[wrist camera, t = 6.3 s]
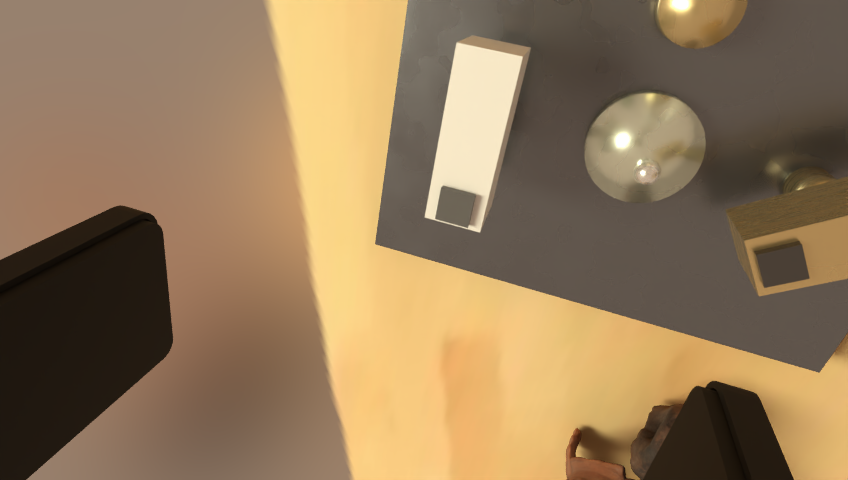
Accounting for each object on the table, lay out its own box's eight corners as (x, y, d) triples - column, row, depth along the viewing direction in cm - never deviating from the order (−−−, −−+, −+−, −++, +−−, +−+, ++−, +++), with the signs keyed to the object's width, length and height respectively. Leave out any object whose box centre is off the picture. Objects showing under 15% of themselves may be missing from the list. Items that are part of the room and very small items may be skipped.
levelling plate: (437, -120, 23) (414, -137, 20) (1052, -22, 19) (1142, -23, 16) (386, 229, 32) (365, 256, 29) (804, 348, 28) (832, 394, 25)
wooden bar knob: (904, 131, 21) (1010, 181, 15) (912, 185, 21) (1016, 249, 16) (711, 187, 23) (746, 244, 18) (724, 233, 24) (761, 300, 19)
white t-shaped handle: (484, 30, 23) (454, 43, 18) (536, 41, 23) (521, 57, 18) (454, 174, 27) (422, 220, 21) (500, 186, 26) (478, 235, 21)
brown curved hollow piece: (731, 504, 34) (682, 619, 30) (598, 424, 40) (540, 512, 35) (790, 401, 27) (735, 536, 22) (615, 320, 32) (543, 416, 28)
